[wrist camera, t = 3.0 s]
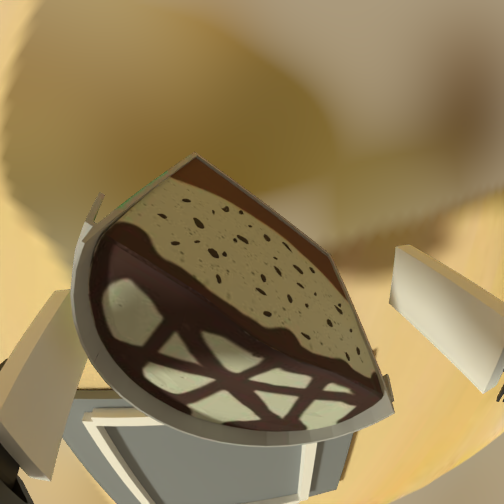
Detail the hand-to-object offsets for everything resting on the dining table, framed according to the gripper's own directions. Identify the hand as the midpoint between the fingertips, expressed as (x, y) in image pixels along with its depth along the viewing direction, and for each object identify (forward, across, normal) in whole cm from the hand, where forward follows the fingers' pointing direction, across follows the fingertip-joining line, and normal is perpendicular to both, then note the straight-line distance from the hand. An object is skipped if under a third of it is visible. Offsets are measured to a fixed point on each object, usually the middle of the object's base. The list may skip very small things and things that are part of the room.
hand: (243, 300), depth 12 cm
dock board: (+7, +3, +21) cm, 22 cm away
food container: (+6, 0, 0) cm, 6 cm away
